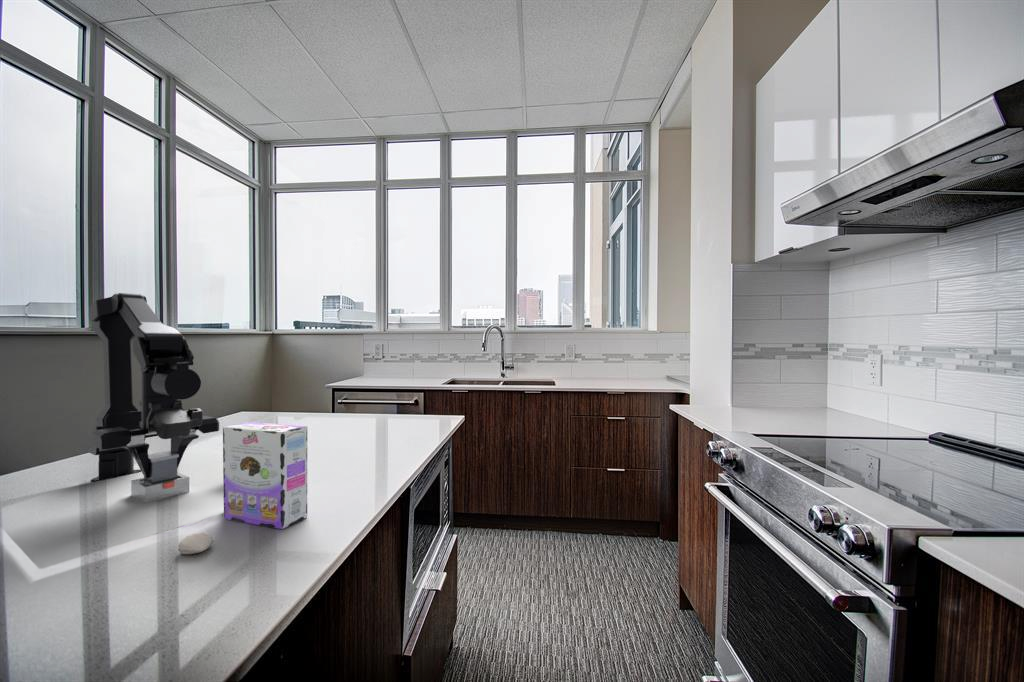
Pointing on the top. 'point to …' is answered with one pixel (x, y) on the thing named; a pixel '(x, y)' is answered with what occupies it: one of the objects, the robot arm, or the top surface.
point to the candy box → (265, 473)
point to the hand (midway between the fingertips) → (160, 474)
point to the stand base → (159, 488)
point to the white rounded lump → (195, 543)
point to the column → (162, 467)
